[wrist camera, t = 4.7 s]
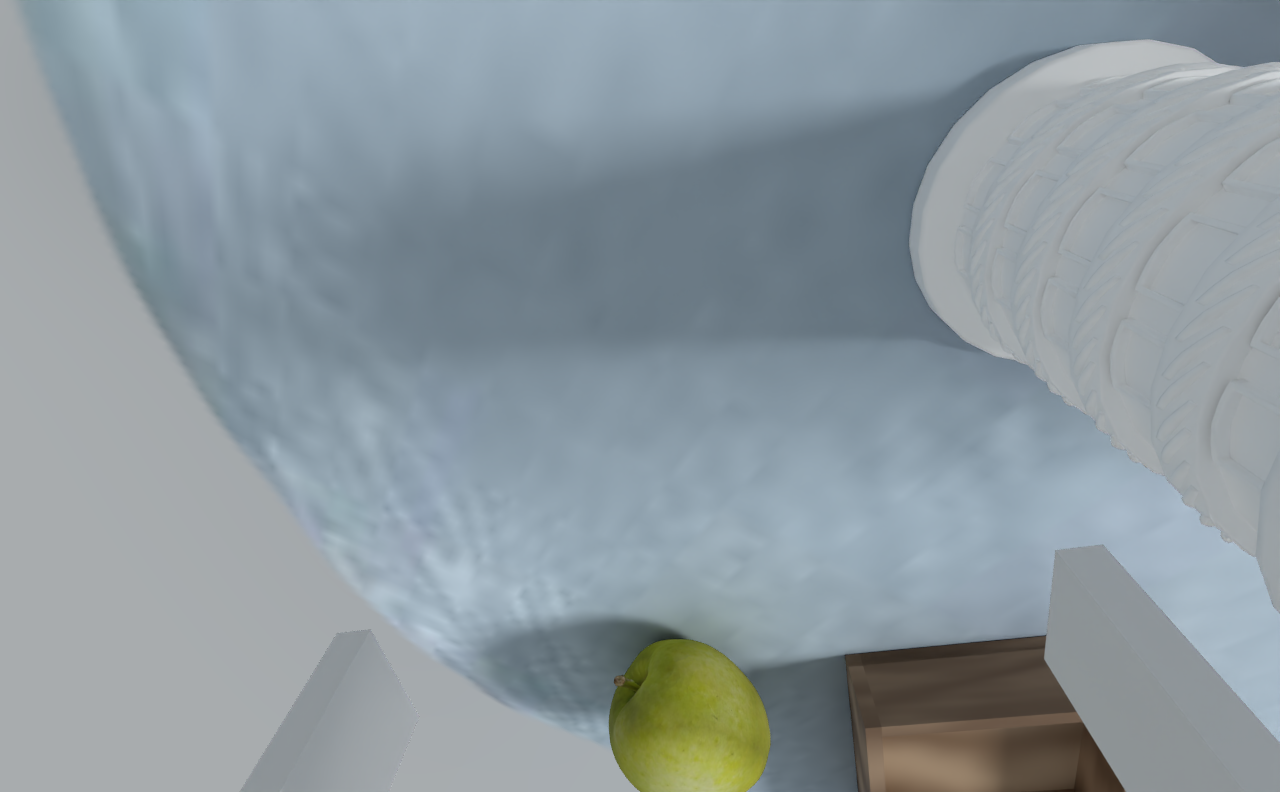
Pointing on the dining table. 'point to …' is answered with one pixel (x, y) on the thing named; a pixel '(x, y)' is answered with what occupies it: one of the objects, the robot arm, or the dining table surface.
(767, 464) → the dining table surface
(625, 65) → the dining table surface
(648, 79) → the dining table surface
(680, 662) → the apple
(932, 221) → the decorative container
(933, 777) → the walnut box
